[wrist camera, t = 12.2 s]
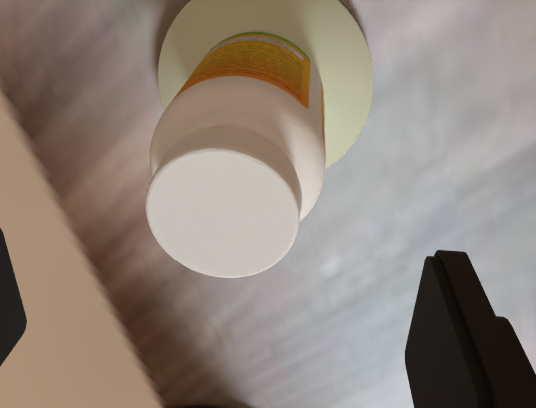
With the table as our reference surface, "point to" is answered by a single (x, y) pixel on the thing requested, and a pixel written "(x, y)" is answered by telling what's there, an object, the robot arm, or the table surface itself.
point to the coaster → (294, 28)
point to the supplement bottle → (238, 156)
